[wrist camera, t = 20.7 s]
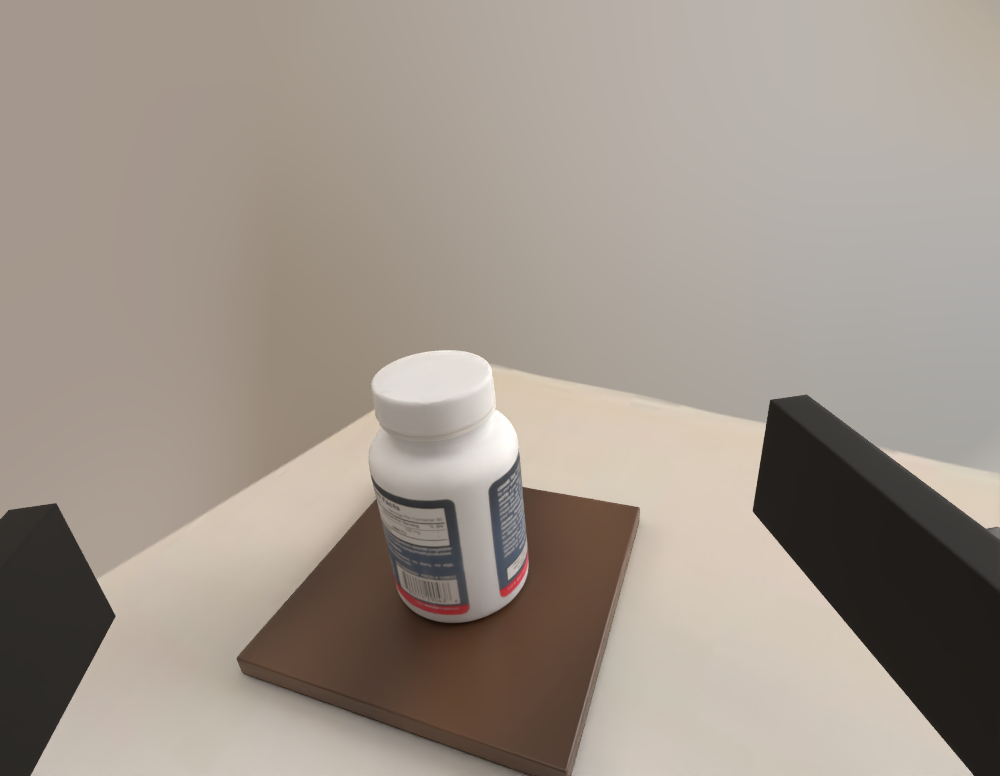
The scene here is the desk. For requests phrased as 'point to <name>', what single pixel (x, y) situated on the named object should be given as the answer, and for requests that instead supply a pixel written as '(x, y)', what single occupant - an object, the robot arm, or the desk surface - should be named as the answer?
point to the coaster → (462, 639)
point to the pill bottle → (448, 486)
